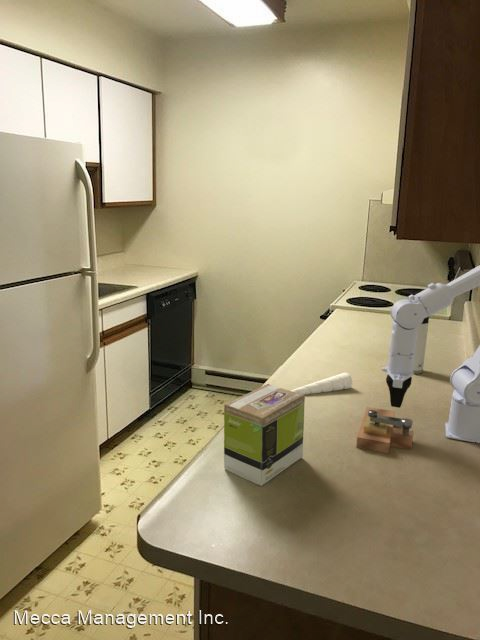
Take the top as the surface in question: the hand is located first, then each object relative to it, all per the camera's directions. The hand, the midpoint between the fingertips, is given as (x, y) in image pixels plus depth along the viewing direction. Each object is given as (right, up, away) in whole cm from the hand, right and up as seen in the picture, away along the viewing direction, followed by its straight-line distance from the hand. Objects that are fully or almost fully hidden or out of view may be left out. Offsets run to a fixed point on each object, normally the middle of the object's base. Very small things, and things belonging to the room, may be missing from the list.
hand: (395, 406), depth 119 cm
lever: (-3, -3, -5) cm, 6 cm away
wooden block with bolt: (-6, -5, -3) cm, 8 cm away
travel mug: (+19, +4, +44) cm, 49 cm away
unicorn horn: (-15, -1, +25) cm, 29 cm away
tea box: (-32, -10, -15) cm, 37 cm away
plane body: (-2, -7, -1) cm, 7 cm away
